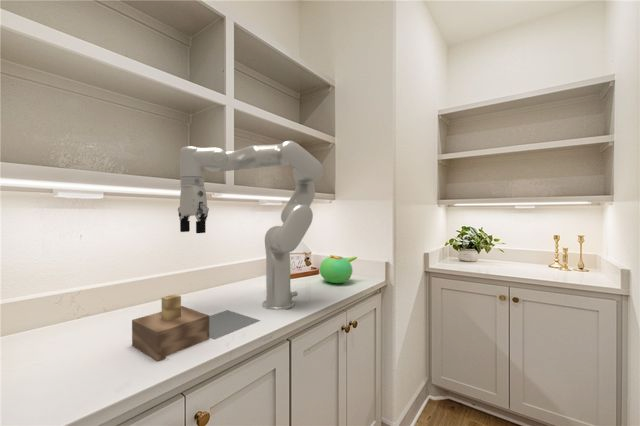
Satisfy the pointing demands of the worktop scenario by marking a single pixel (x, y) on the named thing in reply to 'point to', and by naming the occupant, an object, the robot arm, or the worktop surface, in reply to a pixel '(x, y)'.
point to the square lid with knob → (169, 329)
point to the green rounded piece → (336, 269)
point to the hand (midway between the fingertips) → (192, 232)
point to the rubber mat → (228, 323)
